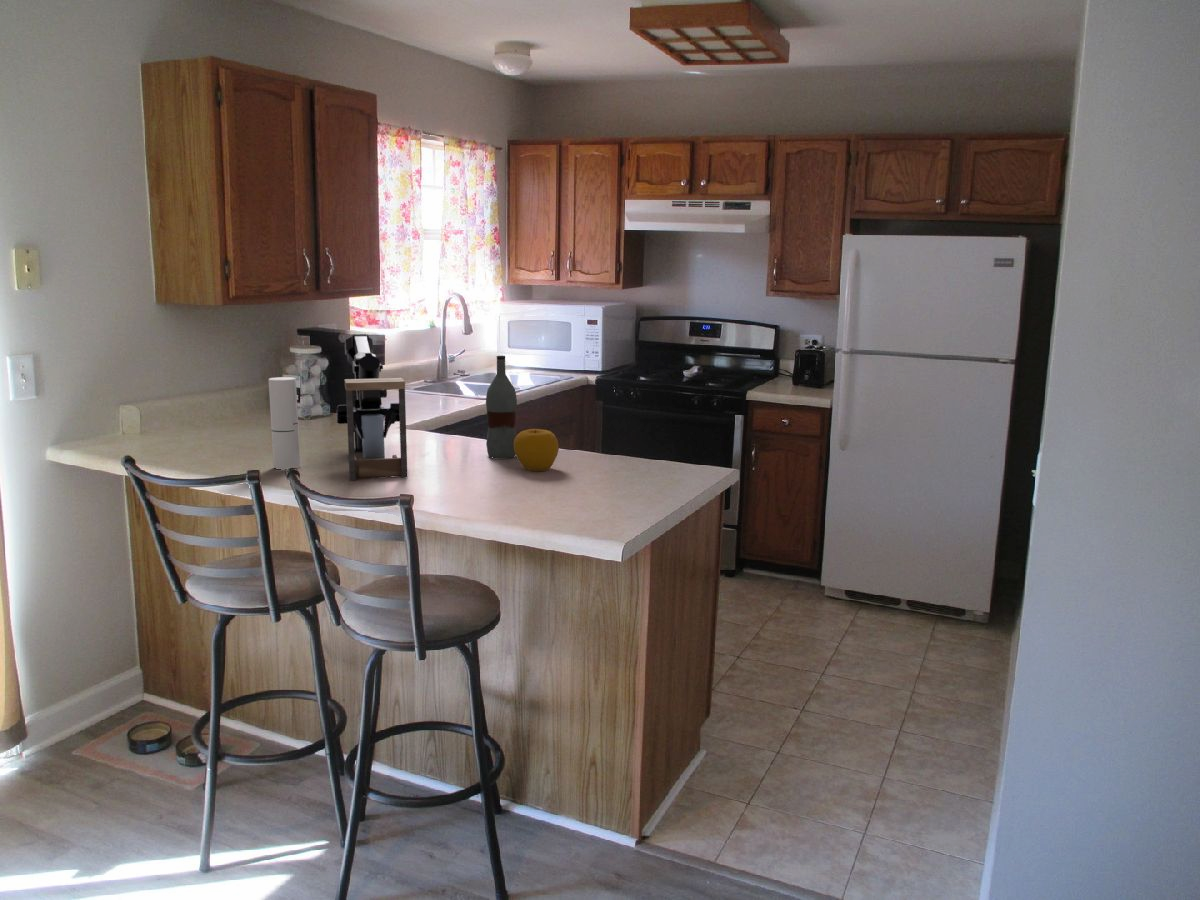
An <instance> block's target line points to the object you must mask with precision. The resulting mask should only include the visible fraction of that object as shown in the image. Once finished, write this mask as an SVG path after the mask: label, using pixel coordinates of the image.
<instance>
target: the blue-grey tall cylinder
mask: <svg viewBox="0 0 1200 900" xmlns="http://www.w3.org/2000/svg"><path fill="white" fill-rule="evenodd" d="M361 421H362V436H363V438H362V448H363V452H362V460H364V459H384V458H386V456H385V454H386V453H385V438H384V423H385V419H384V416H383V415H381V414H367V415H362V416H361Z"/></svg>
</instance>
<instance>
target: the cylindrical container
mask: <svg viewBox="0 0 1200 900" xmlns="http://www.w3.org/2000/svg"><path fill="white" fill-rule="evenodd" d="M268 392H269V393H268V394H269V409H270V411H269V412H270V428H271V445H272V447H271V448H272V462H273V463H272V464H273V469H274V468H276V469H281V470H280V471H286V470H285V469H287V468H289V467H293V468H298V467H300V468H301V456H300V454H301V453H300V435H299V417H298V395H297V394H298V393H297V378H296V377H292V376H291V377H290V376H280V377H279V376H278V377H277V376H275V377H270V378H268ZM298 469H299V468H298Z"/></svg>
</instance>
